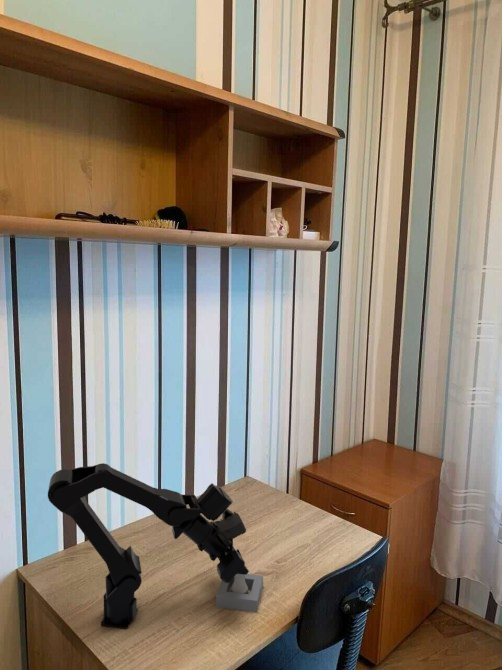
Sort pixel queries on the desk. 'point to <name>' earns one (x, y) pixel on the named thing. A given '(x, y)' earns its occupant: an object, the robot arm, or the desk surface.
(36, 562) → the desk surface
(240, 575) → the rook chess piece
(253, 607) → the hollow square block
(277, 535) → the desk surface
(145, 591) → the desk surface
